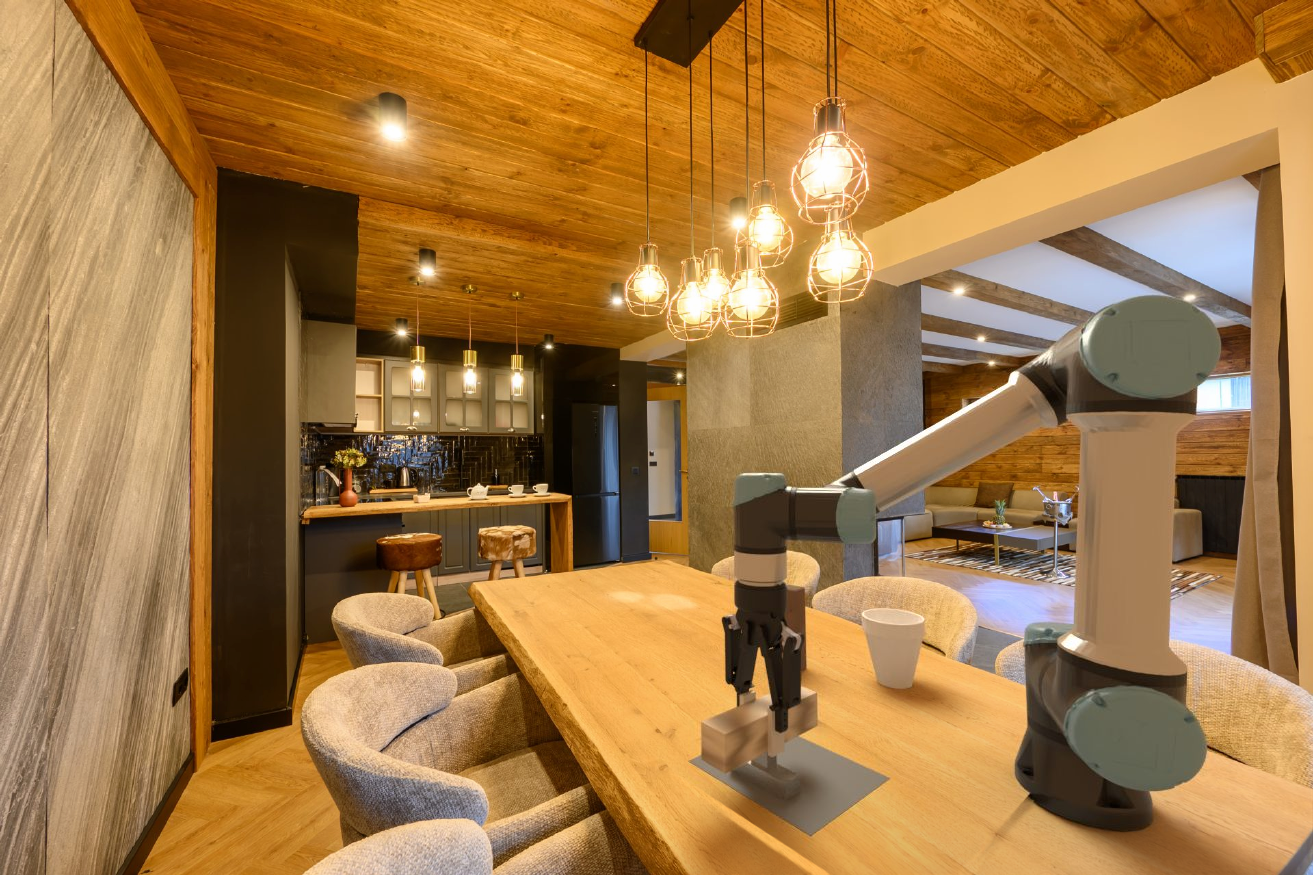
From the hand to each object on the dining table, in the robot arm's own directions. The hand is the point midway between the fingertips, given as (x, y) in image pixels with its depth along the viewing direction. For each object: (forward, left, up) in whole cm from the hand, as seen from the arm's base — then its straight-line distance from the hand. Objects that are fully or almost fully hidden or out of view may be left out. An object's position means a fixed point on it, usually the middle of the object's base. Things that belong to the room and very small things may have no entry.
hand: (761, 745), depth 79 cm
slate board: (0, -5, -6) cm, 8 cm away
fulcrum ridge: (0, 0, -6) cm, 6 cm away
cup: (+7, -50, -6) cm, 51 cm away
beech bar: (0, 0, 0) cm, 0 cm away
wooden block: (+25, -38, -6) cm, 46 cm away
